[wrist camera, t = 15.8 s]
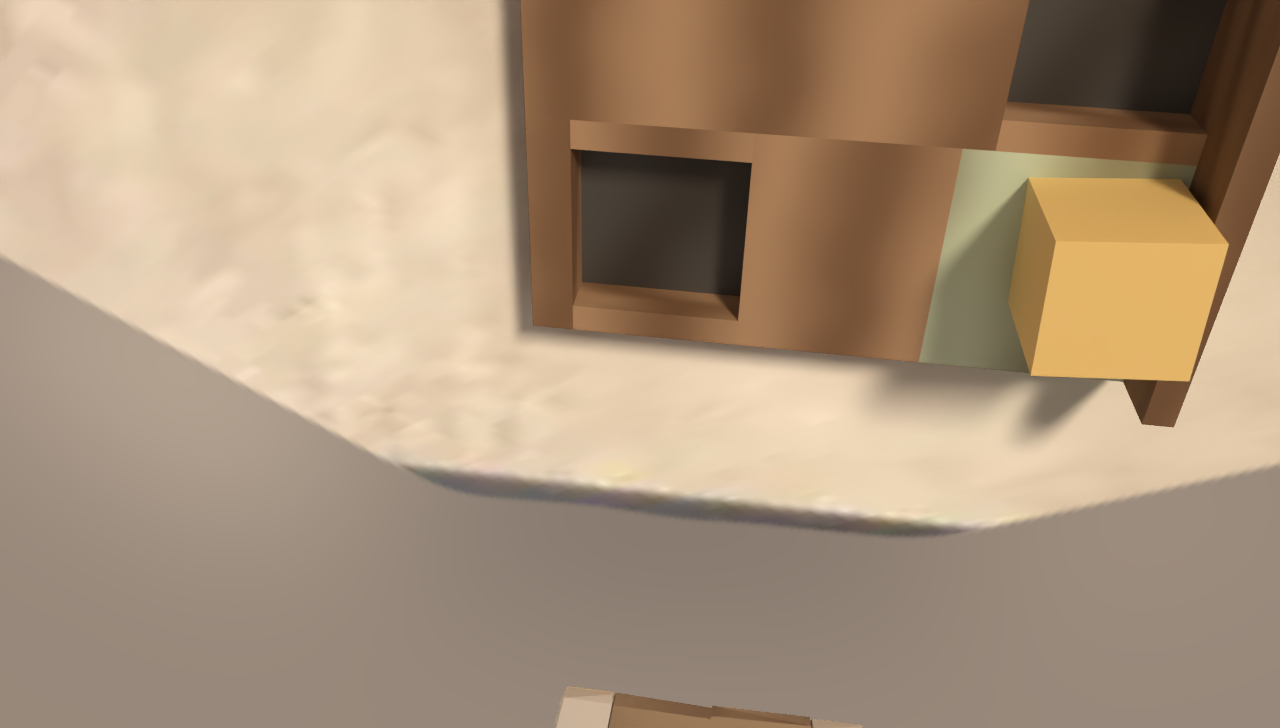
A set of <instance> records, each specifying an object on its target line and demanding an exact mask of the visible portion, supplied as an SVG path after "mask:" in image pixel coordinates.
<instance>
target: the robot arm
mask: <svg viewBox="0 0 1280 728" xmlns="http://www.w3.org/2000/svg"><path fill="white" fill-rule="evenodd" d="M554 728H863V727H862V726H861V725H858V724H850V723H842V722H833V721H826V720H817V719H812V720H811V721H810V717H804V716H796V715H787V714H779V713H769V712H761V711H753V710H744V709H735V708H727V707H718V706H713V707H712V708H709V707H703V706H697V705H690V704H683V703H678V702H671V701H665V700H659V699H652V698H646V697H640V696H634V695H627V694H621V693H615V692H608V691H600V690H593V689H586V688H579V687H571V686H567V688H566V690H565V692H564V694H563V697H562V698H561V700H560V704H559V708H558V712H557V716H556V720H555V724H554Z"/></svg>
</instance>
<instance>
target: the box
mask: <svg viewBox="0 0 1280 728" xmlns="http://www.w3.org/2000/svg"><path fill="white" fill-rule="evenodd" d="M520 1H521V27H522V52H523V77H524V103H525V128H526V153H527V179H528V204H529V230H530V255H531V280H532V306H533V325H534V326H544V327H555V328H565V329H576V330H586V331H597V332H607V333H618V334H628V335H639V336H649V337H660V338H670V339H681V340H691V341H702V342H712V343H723V344H733V345H744V346H754V347H765V348H775V349H785V350H796V351H806V352H817V353H827V354H838V355H848V356H859V357H869V358H880V359H890V360H901V361H911V362H922V363H932V364H943V365H953V366H964V367H974V368H985V369H995V370H1006V371H1016V372H1027V373H1030V372H1029V369H1028V365H1027V362H1026V359H1025V356H1024V353H1023V349H1022V346H1021V343H1020V340H1019V336H1018V333H1017V330H1016V327H1015V324H1014V320H1013V317H1012V314H1011V311H1010V308H1009V304H1008V298H1009V292H1010V286H1011V280H1012V274H1013V268H1014V262H1015V256H1016V250H1017V244H1018V238H1019V232H1020V226H1021V220H1022V213H1023V207H1024V201H1025V195H1026V189H1027V183H1028V178H1120V179H1181V180H1182V182H1183V183H1184V184H1185V186H1186V187H1187V188H1188V190H1189V191H1190V192H1191V194H1192V195H1193V196H1194V198H1195V199H1196V200H1197V202H1198V203H1199V204H1200V206H1201V207H1202V209H1203V210H1204V211H1205V213H1206V214H1207V215H1208V217H1209V218H1210V219H1211V221H1212V222H1213V223H1214V225H1215V226H1216V227H1217V229H1218V230H1219V232H1220V233H1221V234H1222V236H1223V237H1224V238H1225V240H1226V241H1227V242H1228V244H1229V246H1228V250H1227V253H1226V257H1225V260H1224V263H1223V267H1222V270H1221V274H1220V277H1219V281H1218V284H1217V288H1216V291H1215V295H1214V298H1213V301H1212V305H1211V308H1210V312H1209V315H1208V319H1207V322H1206V326H1205V329H1204V333H1203V336H1202V340H1201V343H1200V346H1199V350H1198V353H1197V357H1196V360H1195V364H1194V367H1193V371H1192V374H1191V378H1190V381H1164V380H1136V379H1109V378H1090V379H1100V380H1111V381H1121V382H1124V385H1125V387H1126V389H1127V391H1128V394H1129V396H1130V398H1131V401H1132V403H1133V405H1134V407H1135V410H1136V412H1137V414H1138V416H1139V419H1140V421H1141V423H1142V424H1145V425H1155V426H1165V427H1174V425H1175V423H1176V420H1177V418H1178V415H1179V412H1180V410H1181V407H1182V405H1183V402H1184V399H1185V397H1186V394H1187V392H1188V389H1189V387H1190V384H1191V381H1192V379H1193V376H1194V374H1195V371H1196V368H1197V366H1198V363H1199V361H1200V358H1201V355H1202V353H1203V350H1204V348H1205V345H1206V343H1207V340H1208V337H1209V335H1210V332H1211V330H1212V327H1213V324H1214V322H1215V319H1216V317H1217V314H1218V311H1219V309H1220V306H1221V304H1222V301H1223V299H1224V296H1225V293H1226V291H1227V288H1228V286H1229V283H1230V280H1231V278H1232V275H1233V273H1234V270H1235V267H1236V265H1237V262H1238V260H1239V257H1240V255H1241V252H1242V249H1243V247H1244V244H1245V242H1246V239H1247V236H1248V234H1249V231H1250V229H1251V226H1252V223H1253V221H1254V218H1255V216H1256V213H1257V211H1258V208H1259V205H1260V203H1261V200H1262V198H1263V195H1264V192H1265V190H1266V187H1267V185H1268V182H1269V179H1270V177H1271V174H1272V172H1273V169H1274V167H1275V164H1276V161H1277V159H1278V156H1279V154H1280V0H520ZM1079 378H1081V377H1079Z"/></svg>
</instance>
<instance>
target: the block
mask: <svg viewBox="0 0 1280 728" xmlns="http://www.w3.org/2000/svg"><path fill="white" fill-rule="evenodd" d="M1228 246H1229V244H1228V242H1227V241H1226V240H1225V238H1224V237H1223V236H1222V234H1221V233H1220V232H1219V230H1218V229H1217V227H1216V226H1215V225H1214V223H1213V222H1212V221H1211V219H1210V218H1209V217H1208V215H1207V214H1206V213H1205V211H1204V210H1203V209H1202V207H1201V206H1200V204H1199V203H1198V202H1197V200H1196V199H1195V198H1194V196H1193V195H1192V194H1191V192H1190V191H1189V190H1188V188H1187V187H1186V186H1185V184H1184V183H1183V182H1182V180H1181V179H1120V178H1028V183H1027V189H1026V195H1025V201H1024V207H1023V213H1022V220H1021V226H1020V232H1019V238H1018V244H1017V250H1016V256H1015V262H1014V268H1013V274H1012V280H1011V286H1010V292H1009V298H1008V304H1009V308H1010V311H1011V314H1012V317H1013V320H1014V324H1015V327H1016V330H1017V333H1018V336H1019V340H1020V343H1021V346H1022V349H1023V353H1024V356H1025V359H1026V362H1027V365H1028V369H1029V372H1030V375H1031V376H1053V377H1081V378H1109V379H1136V380H1164V381H1190V378H1191V374H1192V371H1193V367H1194V364H1195V360H1196V357H1197V353H1198V350H1199V346H1200V343H1201V340H1202V336H1203V333H1204V329H1205V326H1206V322H1207V319H1208V315H1209V312H1210V308H1211V305H1212V301H1213V298H1214V295H1215V291H1216V288H1217V284H1218V281H1219V277H1220V274H1221V270H1222V267H1223V263H1224V260H1225V257H1226V253H1227V250H1228Z"/></svg>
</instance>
